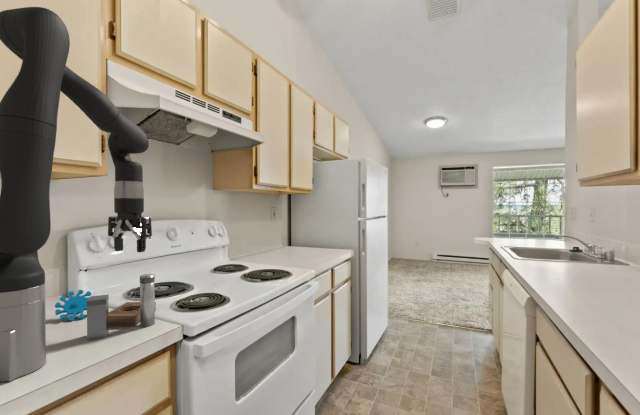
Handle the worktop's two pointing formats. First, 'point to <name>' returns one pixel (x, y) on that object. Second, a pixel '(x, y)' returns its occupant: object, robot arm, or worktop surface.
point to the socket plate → (125, 315)
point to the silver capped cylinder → (147, 300)
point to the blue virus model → (73, 305)
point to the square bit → (97, 317)
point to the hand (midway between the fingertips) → (129, 251)
